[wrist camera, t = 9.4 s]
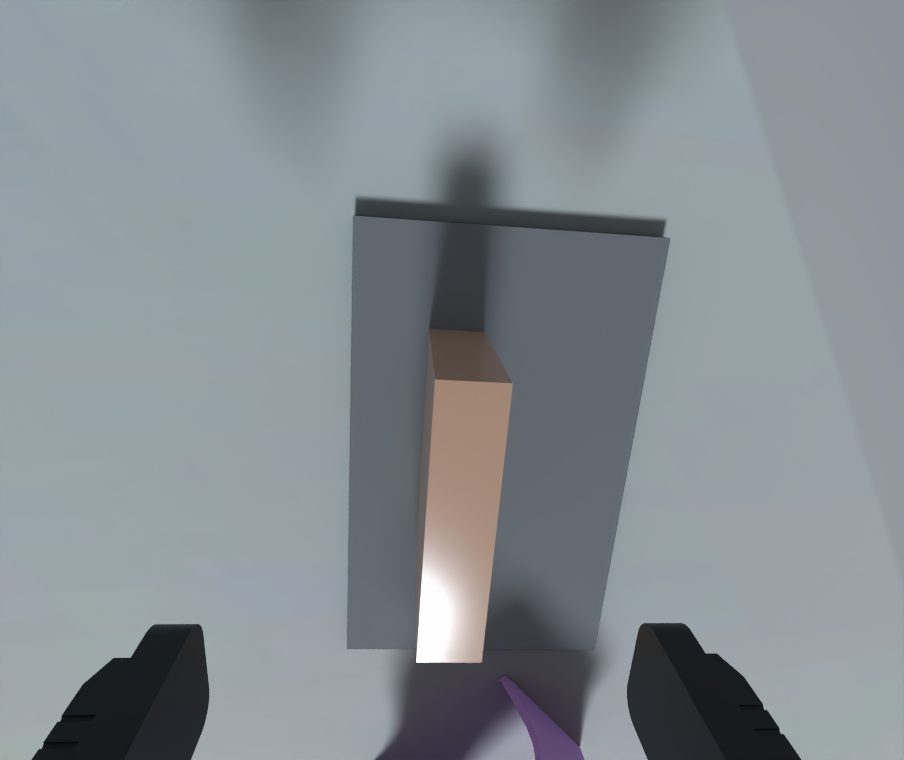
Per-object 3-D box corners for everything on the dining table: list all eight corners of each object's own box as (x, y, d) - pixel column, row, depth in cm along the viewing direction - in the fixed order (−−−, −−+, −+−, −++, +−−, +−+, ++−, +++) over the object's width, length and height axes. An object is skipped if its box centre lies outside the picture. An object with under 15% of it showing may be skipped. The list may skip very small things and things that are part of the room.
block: (429, 328, 19) (435, 379, 14) (484, 331, 20) (512, 383, 14) (415, 544, 22) (416, 662, 16) (464, 545, 22) (481, 662, 17)
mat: (354, 215, 19) (353, 215, 18) (662, 237, 20) (670, 237, 19) (348, 638, 24) (347, 648, 23) (590, 640, 25) (594, 650, 24)
